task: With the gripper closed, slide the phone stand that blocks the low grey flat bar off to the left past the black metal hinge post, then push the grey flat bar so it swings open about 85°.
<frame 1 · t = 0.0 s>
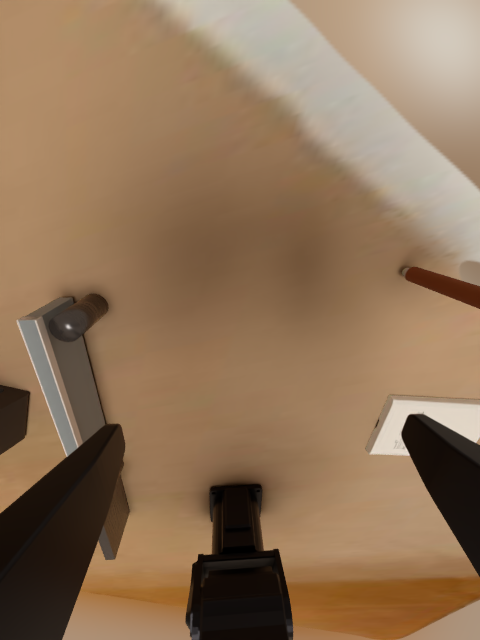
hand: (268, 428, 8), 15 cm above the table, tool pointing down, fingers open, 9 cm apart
magnifying glass: (402, 270, 22), on the table
grey flat bar: (78, 404, 22), point 3 cm above the table, hinge at 0.0°
gate frame: (112, 463, 29), on the table
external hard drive: (421, 420, 30), on the table
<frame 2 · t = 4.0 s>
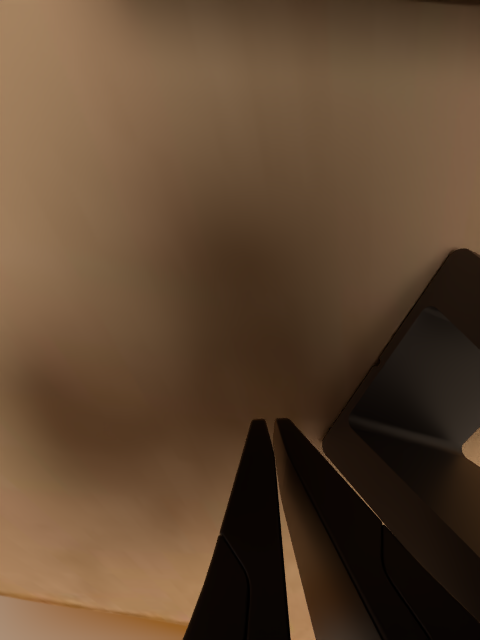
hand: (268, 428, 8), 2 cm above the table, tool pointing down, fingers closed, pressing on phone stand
phone stand: (433, 378, 10), on the table, touching gripper
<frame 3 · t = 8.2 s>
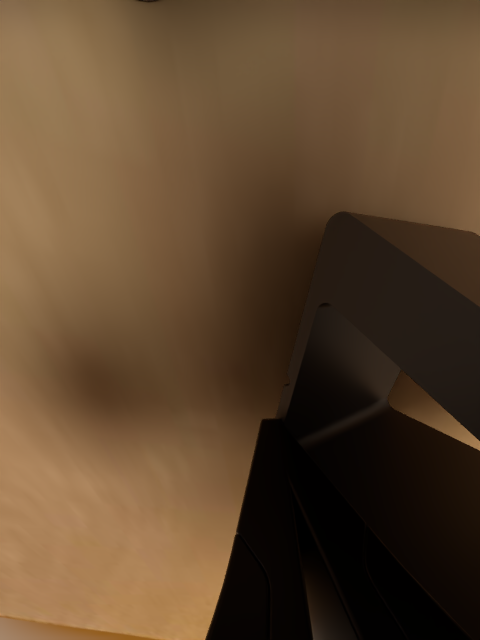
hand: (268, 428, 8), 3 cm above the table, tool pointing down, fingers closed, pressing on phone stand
phone stand: (347, 357, 9), point 1 cm above the table, touching gripper
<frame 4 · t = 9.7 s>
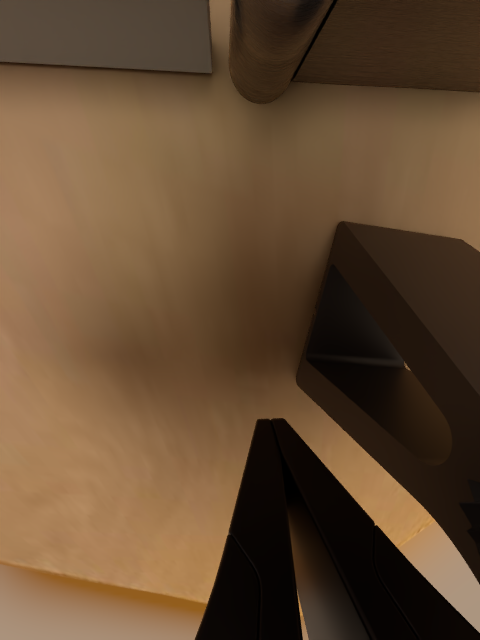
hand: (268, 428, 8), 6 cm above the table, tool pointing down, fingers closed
gate frame: (261, 62, 9), on the table
phone stand: (364, 315, 14), on the table
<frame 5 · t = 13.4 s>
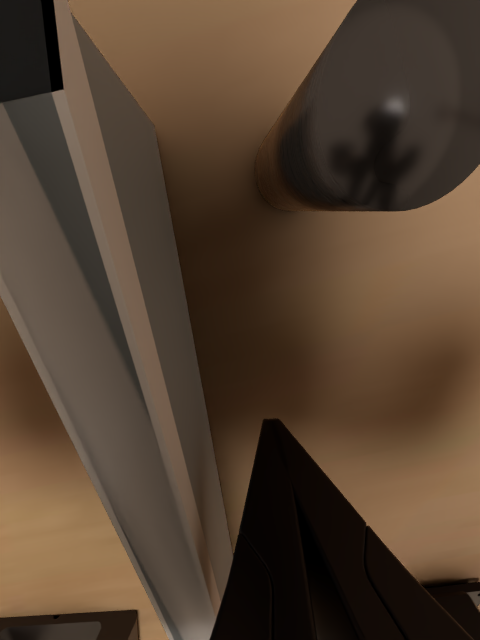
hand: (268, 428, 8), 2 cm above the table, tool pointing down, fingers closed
grey flat bar: (189, 485, 7), point 3 cm above the table, hinge at 5.5°, touching gripper
gate frame: (226, 566, 14), on the table
phone stand: (66, 632, 16), on the table
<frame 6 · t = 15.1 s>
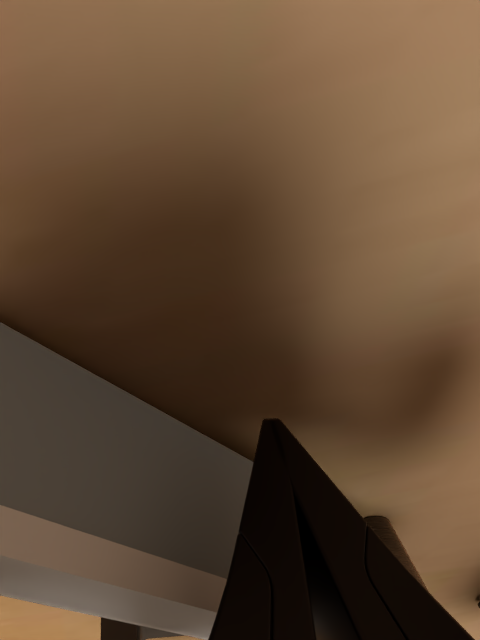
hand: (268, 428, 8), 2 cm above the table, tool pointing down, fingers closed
grey flat bar: (212, 516, 8), point 3 cm above the table, hinge at 48.6°, touching gripper
gate frame: (368, 529, 14), on the table
phone stand: (187, 600, 16), on the table
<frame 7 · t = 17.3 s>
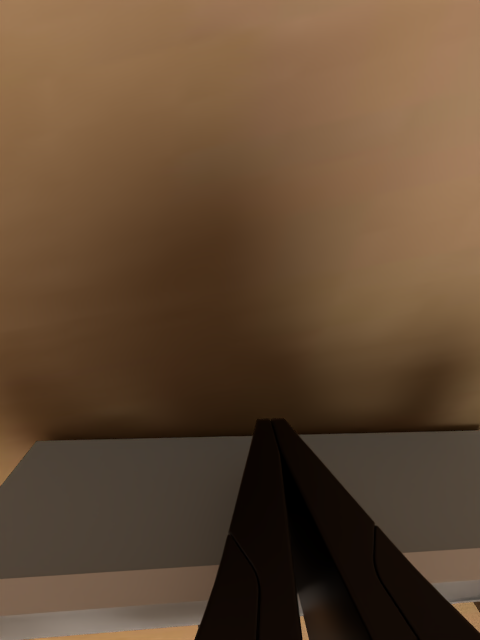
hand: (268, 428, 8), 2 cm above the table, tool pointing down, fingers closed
grey flat bar: (292, 504, 8), point 3 cm above the table, hinge at 88.5°
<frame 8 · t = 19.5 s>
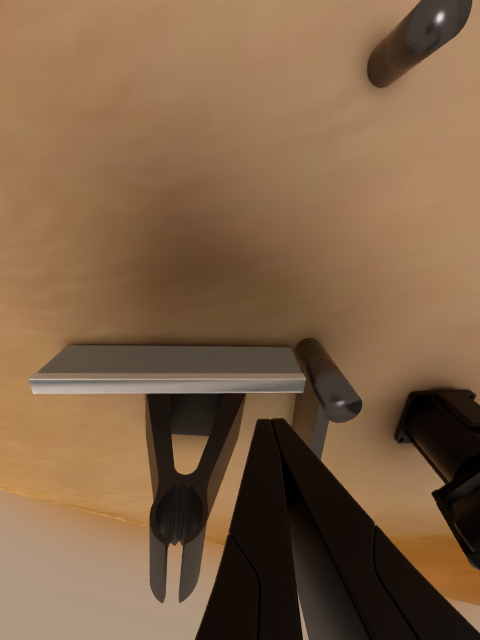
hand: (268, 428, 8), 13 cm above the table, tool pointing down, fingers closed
grey flat bar: (178, 366, 19), point 3 cm above the table, hinge at 88.5°
gate frame: (308, 350, 22), on the table
phone stand: (195, 407, 24), on the table
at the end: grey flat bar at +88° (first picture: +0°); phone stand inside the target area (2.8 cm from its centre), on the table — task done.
